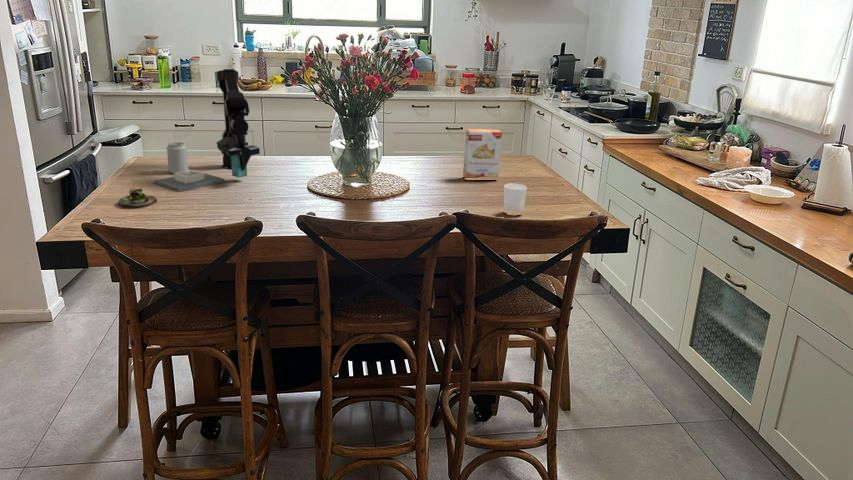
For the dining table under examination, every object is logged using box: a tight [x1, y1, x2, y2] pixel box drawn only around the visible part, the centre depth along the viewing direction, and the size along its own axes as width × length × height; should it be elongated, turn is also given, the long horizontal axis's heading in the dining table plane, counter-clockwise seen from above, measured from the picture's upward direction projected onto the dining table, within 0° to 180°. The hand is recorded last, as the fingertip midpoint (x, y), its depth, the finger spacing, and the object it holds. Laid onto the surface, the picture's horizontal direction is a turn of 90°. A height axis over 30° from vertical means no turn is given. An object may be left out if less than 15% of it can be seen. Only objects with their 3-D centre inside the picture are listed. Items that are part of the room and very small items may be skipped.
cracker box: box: [462, 128, 503, 178], centre depth 275 cm, size 14×6×21 cm, turn 99°
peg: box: [231, 155, 248, 178], centre depth 257 cm, size 4×4×8 cm
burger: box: [118, 183, 158, 209], centre depth 226 cm, size 12×12×8 cm
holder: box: [153, 169, 226, 193], centre depth 253 cm, size 20×16×4 cm
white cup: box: [503, 183, 528, 211], centre depth 233 cm, size 8×8×10 cm
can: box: [166, 141, 189, 175], centre depth 265 cm, size 8×8×12 cm
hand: (239, 169), depth 258 cm, fingers closed on peg, 4 cm apart
